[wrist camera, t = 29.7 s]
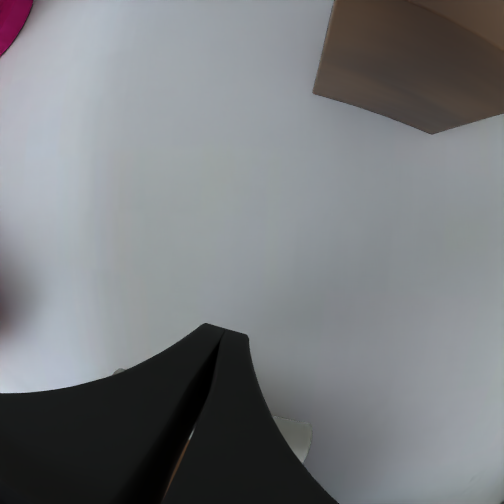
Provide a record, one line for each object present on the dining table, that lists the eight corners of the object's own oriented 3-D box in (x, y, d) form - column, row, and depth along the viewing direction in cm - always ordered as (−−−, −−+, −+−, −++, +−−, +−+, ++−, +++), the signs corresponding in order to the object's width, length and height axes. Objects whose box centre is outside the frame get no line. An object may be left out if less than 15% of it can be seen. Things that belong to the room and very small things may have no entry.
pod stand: (443, 35, 9) (537, -46, 2) (432, 135, 10) (566, 99, 3) (334, -5, 10) (361, -132, 2) (311, 94, 11) (340, -23, 3)
